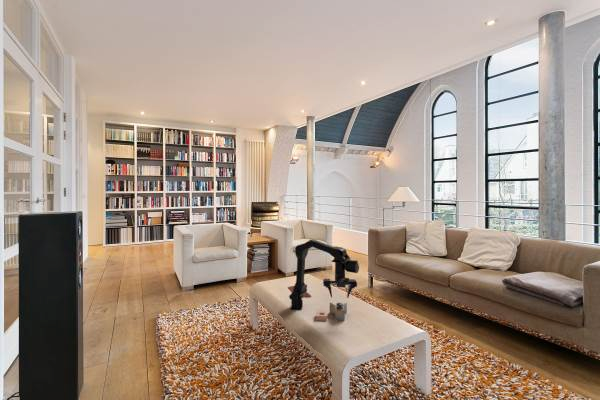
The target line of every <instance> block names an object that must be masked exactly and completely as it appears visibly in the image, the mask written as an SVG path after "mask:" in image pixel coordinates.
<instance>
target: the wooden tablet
mask: <svg viewBox="0 0 600 400" xmlns="http://www.w3.org/2000/svg"><path fill="white" fill-rule="evenodd" d="M293 288H294V285H291V286H287V289H288V290H289V292H291V293H293ZM308 298H312V295H311V294H310V293H309V292H307V291H306V293H305V294H304V296H303V297H302V299H308Z"/></svg>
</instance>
